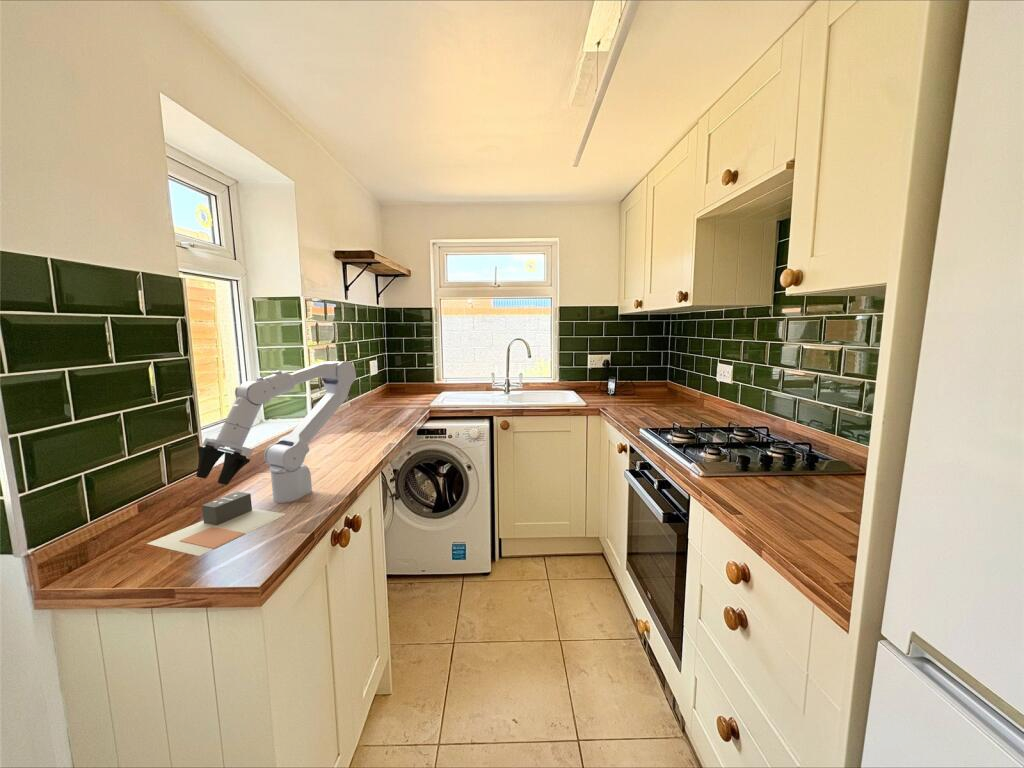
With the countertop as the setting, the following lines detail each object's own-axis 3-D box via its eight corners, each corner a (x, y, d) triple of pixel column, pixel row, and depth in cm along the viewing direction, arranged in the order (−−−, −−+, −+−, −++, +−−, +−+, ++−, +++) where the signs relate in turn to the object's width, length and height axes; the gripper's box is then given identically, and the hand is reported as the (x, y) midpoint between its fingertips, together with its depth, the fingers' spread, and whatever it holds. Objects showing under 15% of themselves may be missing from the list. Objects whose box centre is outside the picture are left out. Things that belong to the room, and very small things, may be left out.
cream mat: (238, 508, 111) (238, 505, 111) (286, 516, 105) (286, 513, 105) (146, 546, 91) (146, 542, 91) (199, 558, 85) (199, 555, 85)
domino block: (239, 508, 109) (237, 491, 109) (252, 510, 108) (250, 493, 107) (203, 523, 101) (201, 504, 100) (217, 525, 99) (214, 507, 99)
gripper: (202, 417, 103) (175, 471, 99) (244, 426, 98) (216, 483, 93) (228, 425, 109) (203, 477, 105) (268, 434, 104) (243, 489, 100)
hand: (211, 480), depth 100 cm, fingers open, 7 cm apart
